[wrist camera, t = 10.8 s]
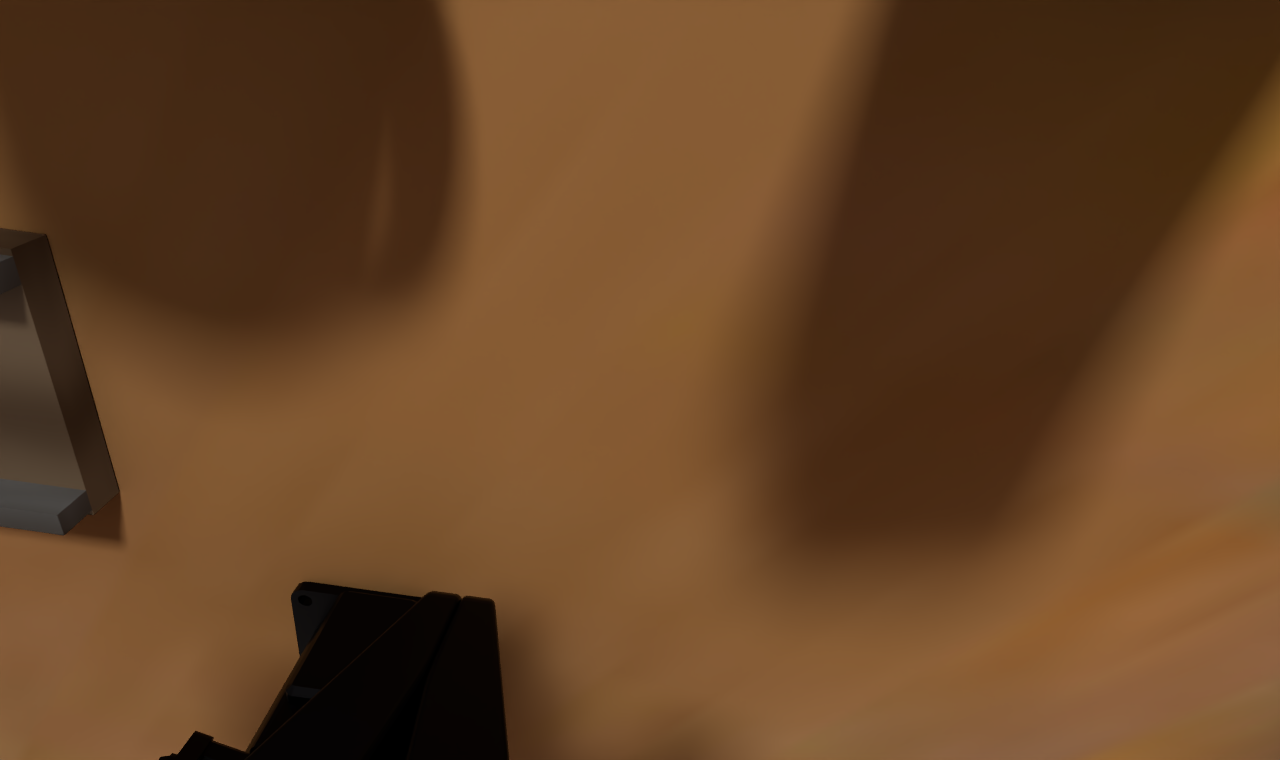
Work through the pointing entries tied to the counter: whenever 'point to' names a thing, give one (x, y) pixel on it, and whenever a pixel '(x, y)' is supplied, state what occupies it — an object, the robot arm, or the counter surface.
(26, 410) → the track
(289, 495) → the counter surface
